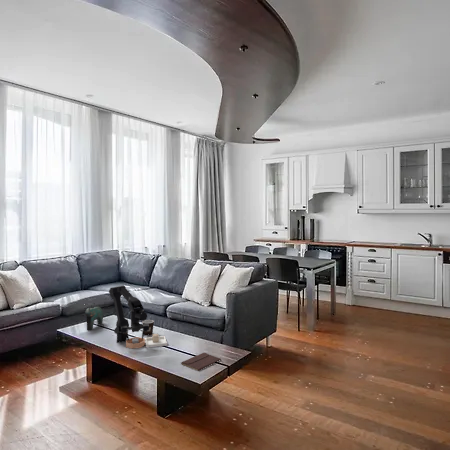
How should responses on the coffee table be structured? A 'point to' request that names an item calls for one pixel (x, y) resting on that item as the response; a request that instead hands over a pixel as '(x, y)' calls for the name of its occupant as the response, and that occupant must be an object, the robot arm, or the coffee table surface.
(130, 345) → the terracotta bowl
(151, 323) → the coffee mug
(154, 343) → the tray
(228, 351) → the coffee table surface
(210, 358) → the notebook
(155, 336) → the taupe block
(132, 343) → the grey block
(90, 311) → the green animal figure
